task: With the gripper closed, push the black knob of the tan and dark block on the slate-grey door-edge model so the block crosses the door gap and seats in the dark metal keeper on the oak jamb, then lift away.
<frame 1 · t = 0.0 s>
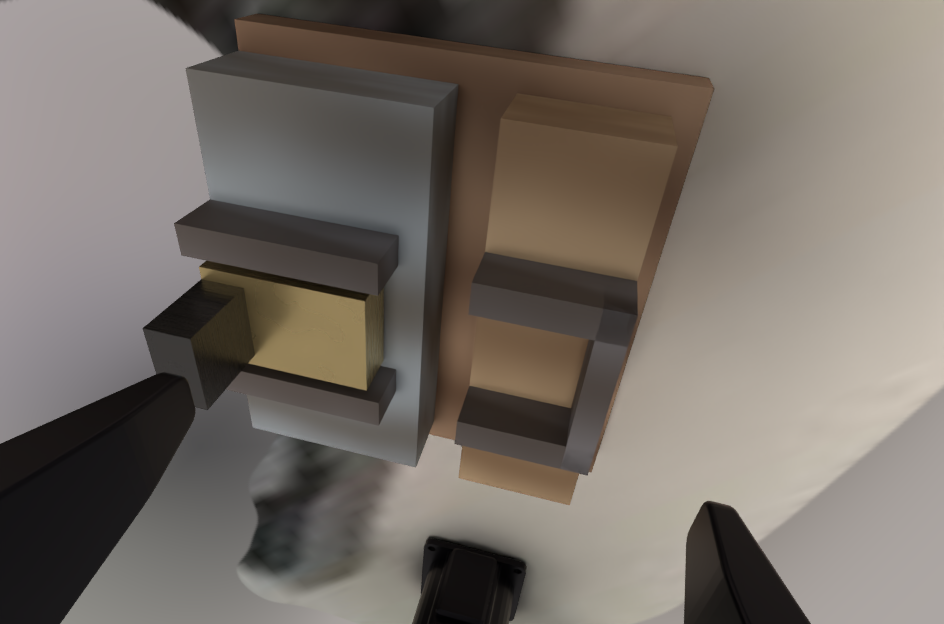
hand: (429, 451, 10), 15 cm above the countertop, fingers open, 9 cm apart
tan and dark block: (277, 340, 20), point 7 cm above the countertop, slide at 0.0 cm
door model: (452, 267, 25), on the countertop
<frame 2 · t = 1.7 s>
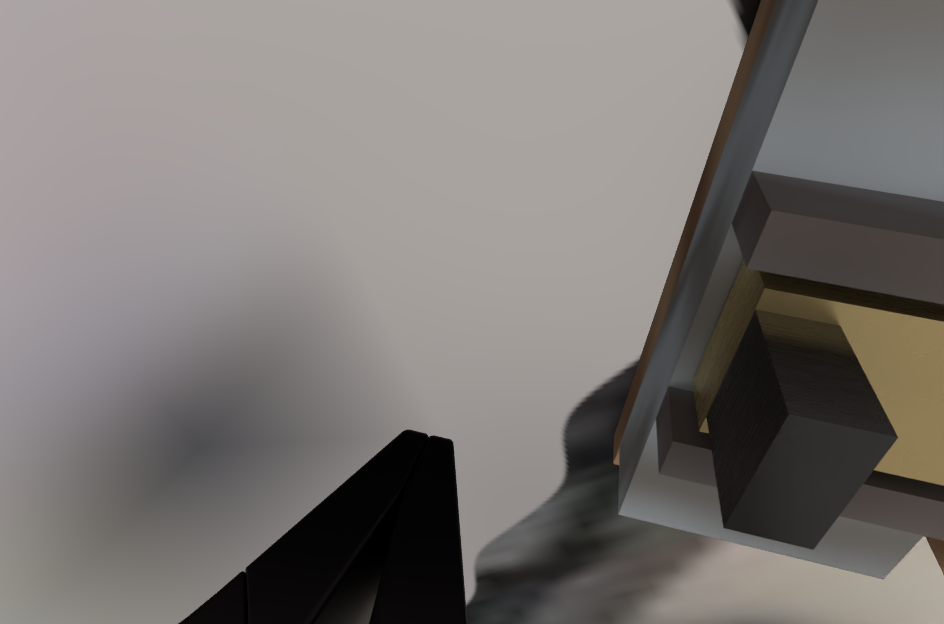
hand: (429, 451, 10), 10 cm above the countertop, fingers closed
tan and dark block: (889, 417, 11), point 7 cm above the countertop, slide at 0.0 cm
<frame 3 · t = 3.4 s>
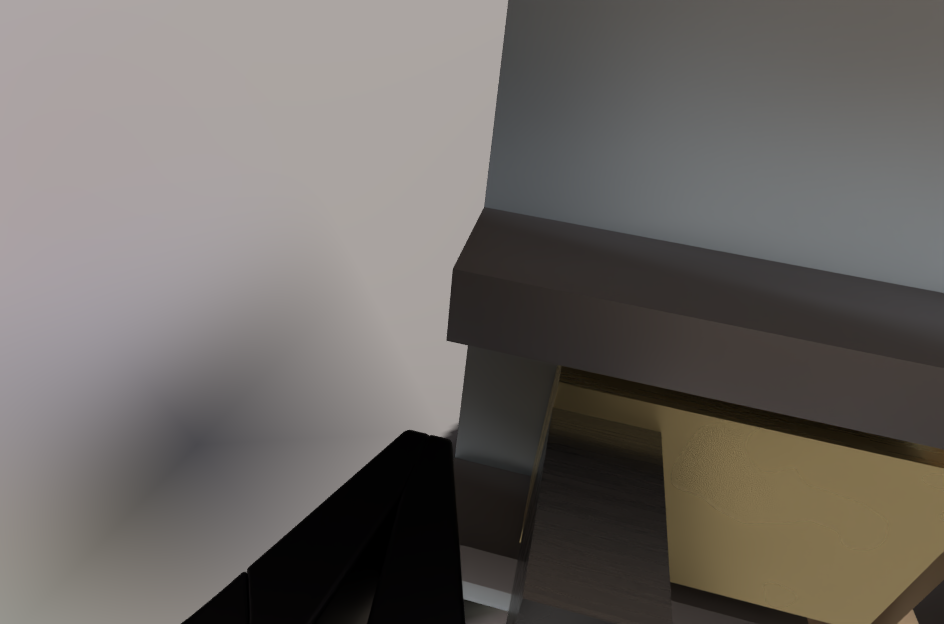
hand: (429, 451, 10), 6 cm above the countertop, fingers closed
tan and dark block: (729, 551, 9), point 7 cm above the countertop, slide at 1.2 cm, touching gripper
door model: (830, 329, 14), on the countertop
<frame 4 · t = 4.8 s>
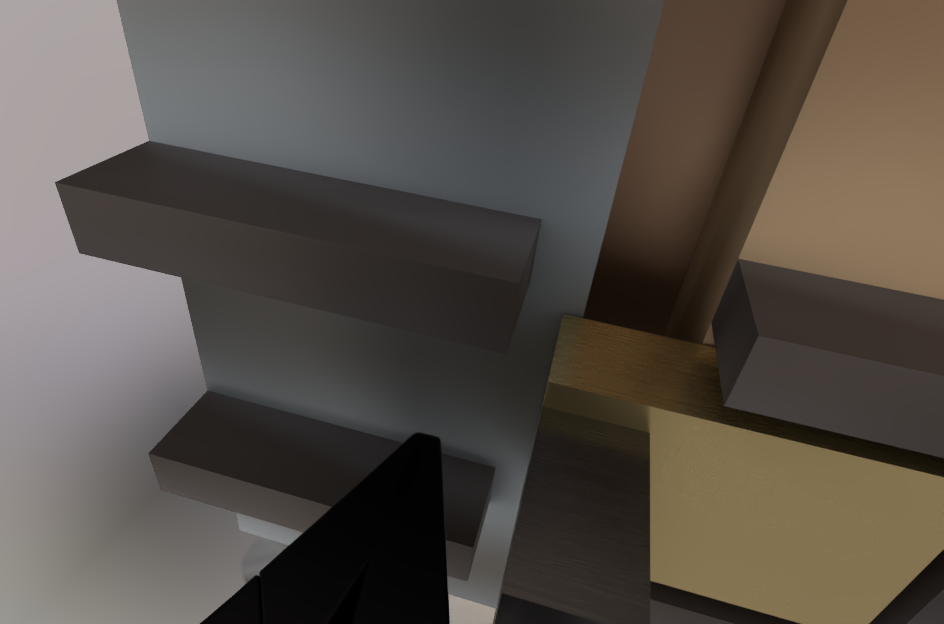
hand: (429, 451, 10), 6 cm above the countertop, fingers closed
tan and dark block: (716, 553, 9), point 7 cm above the countertop, slide at 7.2 cm, touching gripper
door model: (583, 281, 15), on the countertop
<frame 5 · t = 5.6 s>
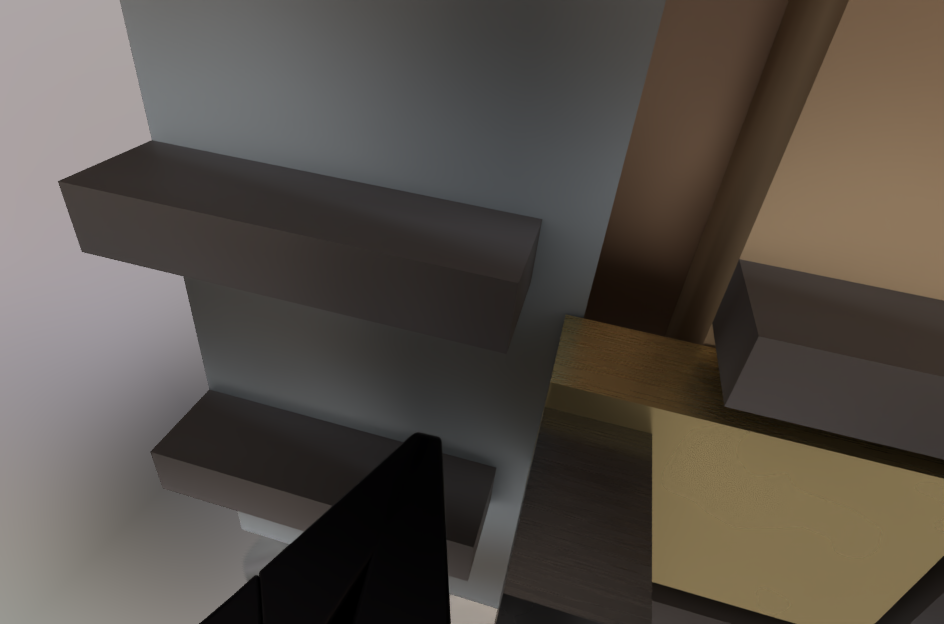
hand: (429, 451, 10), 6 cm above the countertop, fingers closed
tan and dark block: (719, 555, 9), point 7 cm above the countertop, slide at 7.2 cm, touching gripper
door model: (584, 281, 15), on the countertop
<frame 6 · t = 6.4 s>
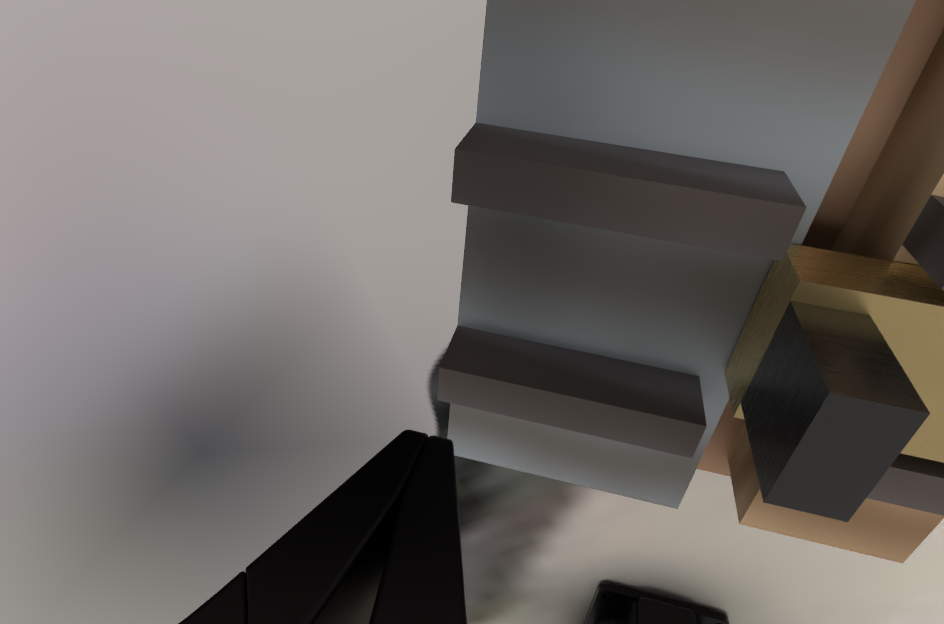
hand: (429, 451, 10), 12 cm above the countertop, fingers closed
tan and dark block: (915, 401, 12), point 7 cm above the countertop, slide at 7.0 cm
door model: (741, 236, 18), on the countertop
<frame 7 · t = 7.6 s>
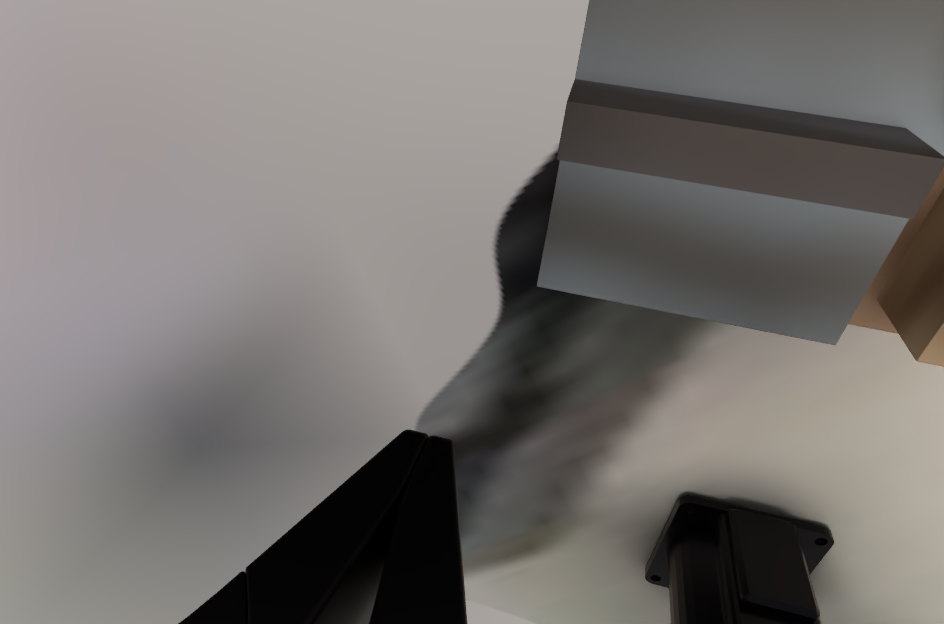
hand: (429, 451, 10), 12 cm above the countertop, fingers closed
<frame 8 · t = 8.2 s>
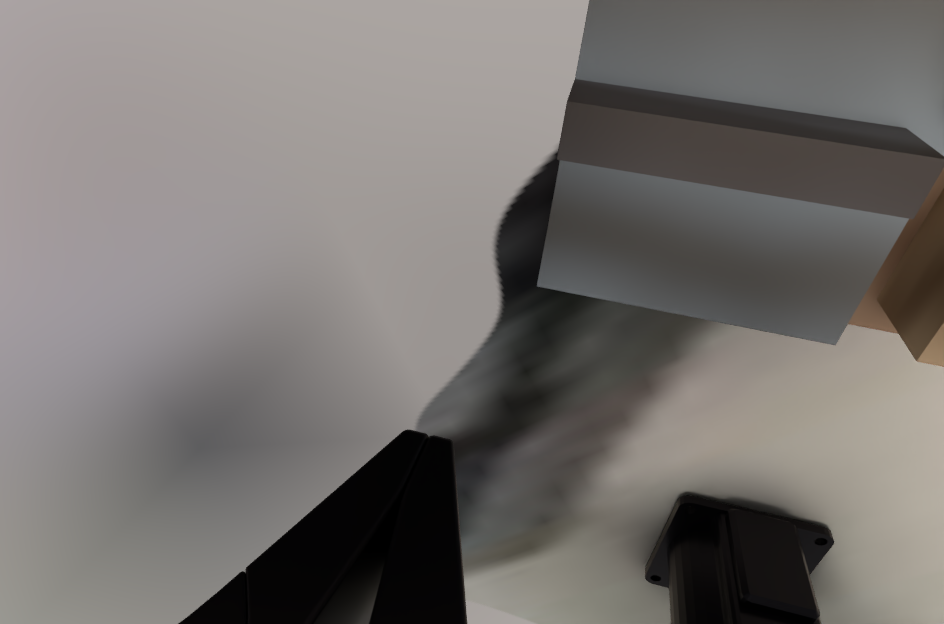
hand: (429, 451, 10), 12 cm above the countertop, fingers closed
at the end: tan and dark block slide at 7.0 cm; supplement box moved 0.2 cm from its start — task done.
